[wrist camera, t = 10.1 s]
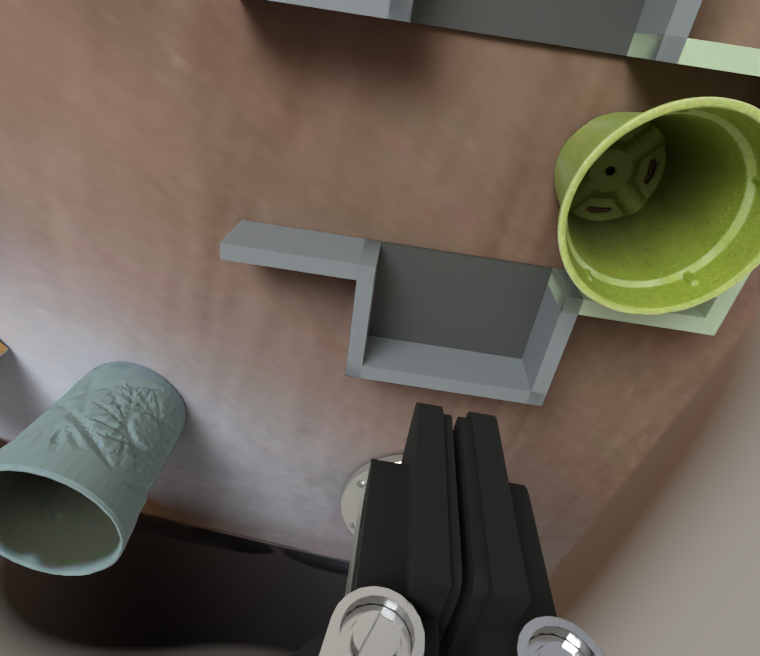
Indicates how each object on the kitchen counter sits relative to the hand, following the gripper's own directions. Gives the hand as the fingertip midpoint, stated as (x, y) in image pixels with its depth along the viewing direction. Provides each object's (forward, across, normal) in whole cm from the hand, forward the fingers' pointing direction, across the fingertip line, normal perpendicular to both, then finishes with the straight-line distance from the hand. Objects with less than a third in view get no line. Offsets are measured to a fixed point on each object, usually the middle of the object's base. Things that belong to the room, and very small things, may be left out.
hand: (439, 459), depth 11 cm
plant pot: (+22, -10, -3) cm, 25 cm away
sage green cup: (+23, +20, +21) cm, 37 cm away
